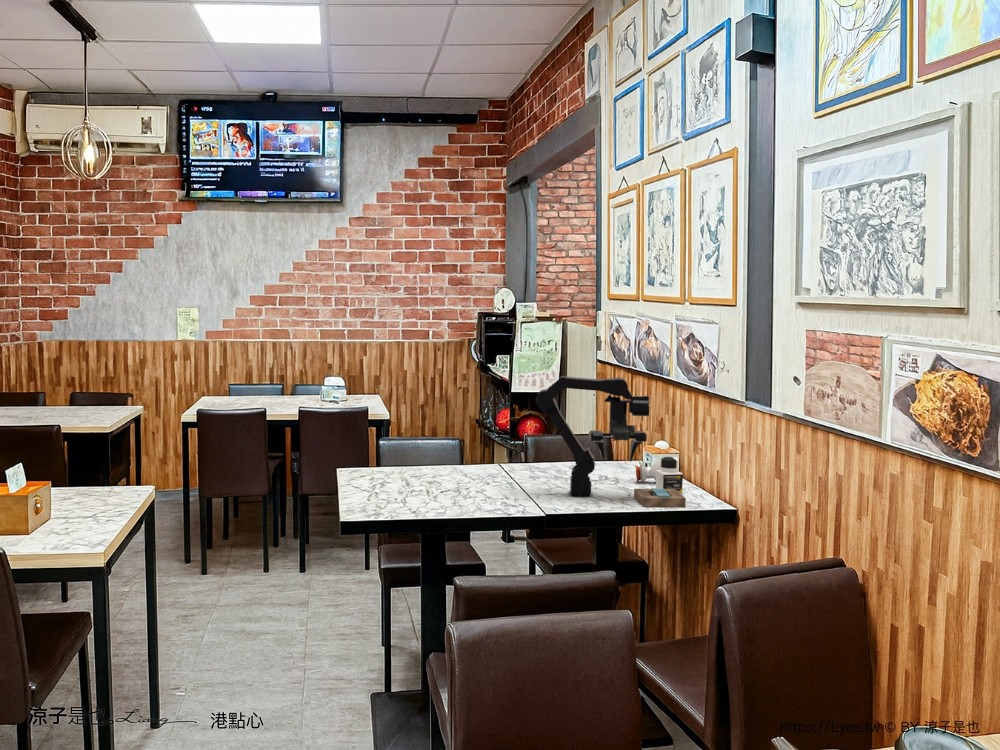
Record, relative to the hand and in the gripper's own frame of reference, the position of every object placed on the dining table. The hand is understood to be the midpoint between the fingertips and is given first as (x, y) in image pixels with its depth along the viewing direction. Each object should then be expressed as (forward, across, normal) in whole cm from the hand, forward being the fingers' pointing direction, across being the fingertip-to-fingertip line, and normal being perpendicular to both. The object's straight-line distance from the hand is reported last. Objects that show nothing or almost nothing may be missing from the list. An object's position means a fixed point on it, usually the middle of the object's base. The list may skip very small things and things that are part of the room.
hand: (616, 461), depth 308 cm
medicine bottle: (+12, +20, +8) cm, 25 cm away
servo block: (+12, +13, -8) cm, 20 cm away
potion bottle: (+12, +19, +22) cm, 31 cm away
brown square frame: (+12, +13, -8) cm, 19 cm away
